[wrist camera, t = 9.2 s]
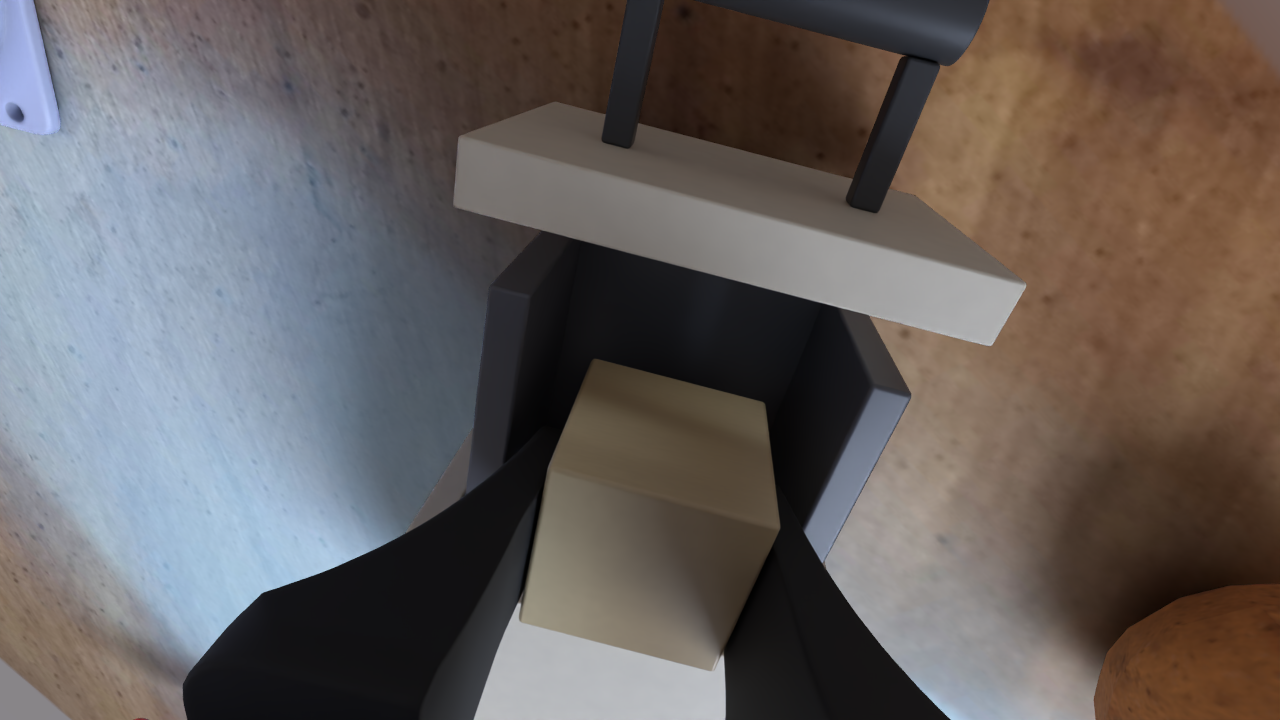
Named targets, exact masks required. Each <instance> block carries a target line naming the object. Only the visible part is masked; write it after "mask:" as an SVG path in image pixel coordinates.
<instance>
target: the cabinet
mask: <svg viewBox="0 0 1280 720" xmlns="http://www.w3.org/2000/svg"><path fill="white" fill-rule="evenodd" d="M472 433H473V428H472V429H471V431H470V433H469V434H468V436H467V437H466V439H465V440H464V442H463V443H462V445H461V447H460V448H459V450H458V451H457V453H456V454H455V456H454V457H453V459H452V461H451V462H450V464H449V465H448V467H447V468H446V470H445V471H444V473H443V475H442V476H441V478H440V479H439V481H438V482H437V484H436V485H435V487H434V489H433V490H432V492H431V493H430V495H429V496H428V498H427V499H426V501H425V503H424V504H423V506H422V507H421V509H420V510H419V512H418V513H417V515H416V517H415V518H414V520H413V521H412V523H411V524H410V526H409V528H408V529H407V531H406V532H405V533H407V532H409V531H411V530H412V529H414V528H416V527H418V526H420V525H421V524H423V523H425V522H426V521H428V520H429V519H431V518H433V517H434V516H436V515H437V514H439V513H441V512H442V511H444V510H445V509H447V508H448V507H449V506H451V505H452V504H454V503H455V502H457V501H458V500H460V499H461V498H462V497H464V496H465V495H466V486H467V477H468V468H469V459H470V451H471V442H472ZM823 565H824V567H825V568H826V566H825V561H824V563H823ZM523 592H524V590H523ZM522 597H523V593H522V595H521V597H520V599H519V601H518V604H517V606H516V608H515V610H514V613H513V615H512V617H511V619H510V621H509V624H508V626H507V628H506V630H505V633H504V635H503V638H502V640H501V643H500V645H499V648H498V650H497V653H496V655H495V658H494V661H493V664H492V667H491V670H490V673H489V676H488V679H487V682H486V685H485V688H484V690H483V693H482V696H481V699H480V702H479V705H478V708H477V711H476V714H475V717H474V720H725V715H726V690H725V669H724V651H723V653H722V655H721V657H720V660H719V662H718V664H717V666H716V668H715V670H714V671H706V670H703V669H699V668H695V667H691V666H687V665H683V664H679V663H675V662H672V661H668V660H664V659H660V658H656V657H652V656H648V655H644V654H641V653H637V652H633V651H629V650H625V649H621V648H617V647H613V646H610V645H606V644H602V643H598V642H594V641H590V640H586V639H582V638H579V637H575V636H571V635H567V634H563V633H559V632H555V631H551V630H548V629H544V628H540V627H536V626H532V625H528V624H524V623H521V622H520V621H519V612H520V607H521V602H522Z"/></svg>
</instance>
